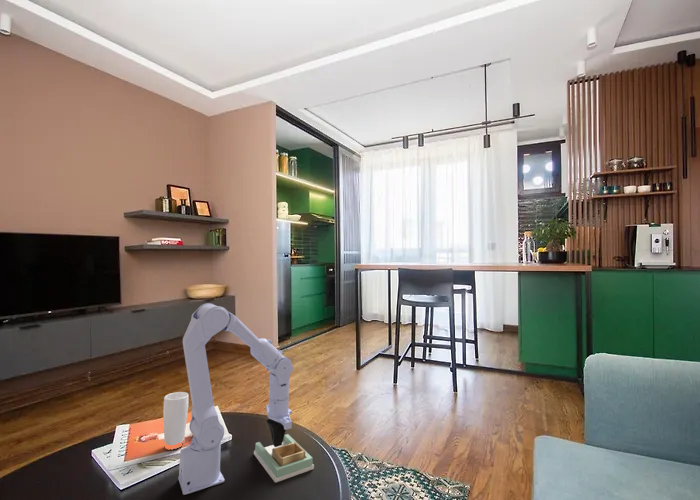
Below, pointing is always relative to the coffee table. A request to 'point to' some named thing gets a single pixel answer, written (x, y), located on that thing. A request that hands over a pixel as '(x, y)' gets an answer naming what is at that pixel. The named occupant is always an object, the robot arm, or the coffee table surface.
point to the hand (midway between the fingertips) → (277, 445)
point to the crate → (288, 454)
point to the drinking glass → (175, 417)
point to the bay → (286, 470)
